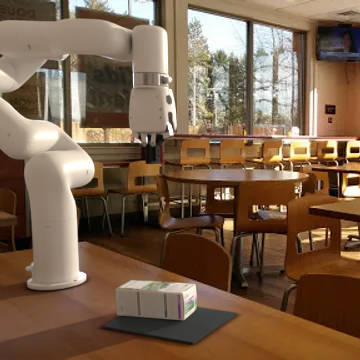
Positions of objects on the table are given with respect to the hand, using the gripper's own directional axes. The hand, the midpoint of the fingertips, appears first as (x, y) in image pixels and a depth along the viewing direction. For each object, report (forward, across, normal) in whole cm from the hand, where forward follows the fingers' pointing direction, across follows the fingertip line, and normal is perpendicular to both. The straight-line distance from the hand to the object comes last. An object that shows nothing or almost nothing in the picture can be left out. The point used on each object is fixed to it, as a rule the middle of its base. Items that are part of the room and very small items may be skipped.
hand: (152, 163), depth 113 cm
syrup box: (+26, -5, +16) cm, 31 cm away
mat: (+29, -16, +16) cm, 37 cm away
